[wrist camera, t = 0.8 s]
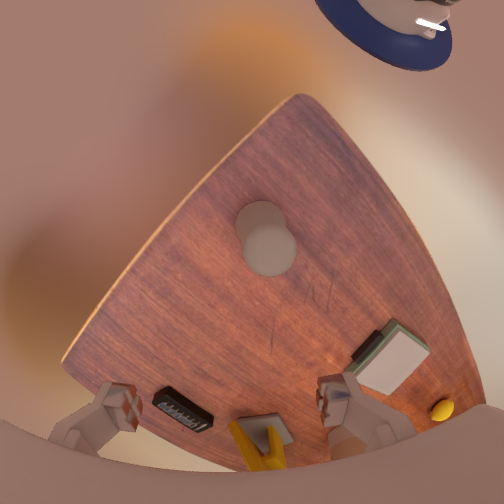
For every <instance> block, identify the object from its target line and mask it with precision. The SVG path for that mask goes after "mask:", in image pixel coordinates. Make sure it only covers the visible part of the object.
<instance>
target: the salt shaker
mask: <svg viewBox="0 0 504 504" xmlns="http://www.w3.org/2000/svg"><path fill="white" fill-rule="evenodd" d="M235 228H236V235H237V237H238V238H239V240H240V241H241V243H242V249H243V258H244V260H245V261H246V263H247V265H248V266H249V268H250V269H251V270H252V271H254V272H255V273H257V274H259V275H260V276H267V277H274V276H277V275H280V274H283V273H284V272H285V271H287V270H288V269H289V268H290V267H291V266H292V264H293V262H294V260H295V257H296V241H295V239H294V238H293V236H292V234H291V232H290V231H289V230H288V229H286V218H285V216H284V214H283V212H282V211H281V209H280V208H279V207H277V206H276V205H274V204H273V203H271V202H267V201H256V202H253V203H249V204H247V205H246V206H245V207H244V208H243V209H242V210H241V211H240V212H239V214H238V216H237V219H236V222H235Z"/></svg>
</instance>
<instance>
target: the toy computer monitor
mask: <svg viewBox="0 0 504 504" xmlns="http://www.w3.org/2000/svg"><path fill="white" fill-rule="evenodd" d="M237 422H238V423H237ZM228 427H229V429H230V431H231V433H232V435H233V437H234V440H235V442H236V444H237V446H238V448H239V450H240V452H241V454H242V456H243V458H244V460H245V462H246V464H247V466H248V468H249V470H250V472H253V471H267V470H278V469H286V460H285V454H284V448H283V446H284V445H287V444H289V443H292V442H294V438H293V436H292V435H291V433H290V432H289V430H288V428H287V427H286V425H285V424H284V422H283V420H282V419H281V417H280V415H279V414H278V413H275V414H269V415H262V416H255V417H247V418H238V419H237V421H235V420H234V421H232V422H230V423H229V424H228ZM241 427H242V428H241ZM256 445H257V446H256ZM268 451H270V452H269V454H268V455H267V456H265V455H264V454H263V453H265V452H268Z"/></svg>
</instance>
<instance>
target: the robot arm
mask: <svg viewBox="0 0 504 504" xmlns="http://www.w3.org/2000/svg"><path fill="white" fill-rule="evenodd" d="M357 1H358V2H359V4H360V5H361V6H362V7H363V8H364V10H365V11H366V12H367V13H369V14H370V15H371V16H372V17H373V18H374V19H376V20H377V21H379V22H380V23H381V24H383V25H385V26H386V27H388V28H390V29H392V30H394V31H397V32H399V33H403V34H407V35H419V36H421V37H423V38H426V39H428V40H432V39H433V38H435V35H436V30H437V29H438V30H441V31H443V30H445V27H442V26H439V25H438V24H440V23H442V22H443V21H445V20H446V19H447V18H449V17H450V15H449V13H450V6H451V5H452V4H455V3H457V2H459V1H460V0H357ZM317 384H318V387H319V388H318V389H317V390H316V402H317V406H318V409H319V410H320V411H321V420H322V423H323V426H324V428H325V427H331V426H336V425H342V424H343V426H344V427H345V428H347V429H348V430H349V431H350V432H352V433H353V434H354V435H355V436H357V437H358V438H359V439H361V440H362V441H363V442H364V443H366V444H367V447H366V449H365V451H364V453H362V454H358V455H354V456H350V457H346V458H342V459H338V460H334V461H329V462H324V463H319V464H313V465H307V466H301V467H294V468H286V469H278V470H267V471H253V472H193V471H192V472H191V471H179V470H169V469H160V468H153V467H146V466H140V465H134V464H129V463H124V462H119V461H114V460H110V459H106V458H101V457H100V456H99V455H98V453H97V451H98V450H100V449H101V448H102V447H103V446H104V445H105V444H106V443H107V442H108V441H110V439H112V438H113V437H114V436H115V435H116V434H117V433H118V432H119V430H121V431H128V432H136V429H137V426H138V423H139V422H138V420H137V418H138V417H139V416H140V415H141V413H142V408H143V404H142V400H141V398H140V396H138V395H137V394H136V391H137V389H136V387H135V385H132V384H125V383H117V382H108V381H105V382H103V384H102V386H101V387H100V389H99V391H98V393H97V395H96V397H95V399H94V401H93V403H92V404H91V403H89V404H88V405H86V406H84V407H83V408H81V409H79V410H78V411H76V412H75V413H73V414H71V415H70V416H68V417H67V418H65V419H63V420H61V421H60V422H58V423H56V425H55V427H54V429H53V431H52V432H51V434H50V436H49V438H48V440H46V439H43V438H41V437H38V436H36V435H34V434H31V433H29V432H27V431H25V430H23V429H20V428H18V427H16V426H14V425H12V424H10V423H8V422H7V421H5V420H2V419H0V504H504V411H503V410H501V409H498V408H495V407H492V406H489V405H485V404H479V405H476V406H474V407H472V408H471V409H469V410H467V411H465V412H463V413H462V414H460V415H458V416H456V417H454V418H452V419H450V420H448V421H446V422H444V423H442V424H440V425H438V426H436V427H433V428H431V429H429V430H427V431H424V432H422V433H420V434H417V432H416V430H415V428H414V426H413V425H412V423H411V421H410V419H409V418H408V416H407V415H405V414H403V413H402V412H400V411H398V410H396V409H394V408H392V407H390V406H388V405H386V404H384V403H382V402H381V401H379V400H377V399H375V398H373V397H371V396H369V395H368V394H367V395H364V393H363V391H362V389H361V387H360V385H359V383H358V381H357V379H356V377H355V375H354V373H353V372H352V371H348V372H343V373H338V374H333V375H328V376H322V377H318V381H317Z"/></svg>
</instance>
